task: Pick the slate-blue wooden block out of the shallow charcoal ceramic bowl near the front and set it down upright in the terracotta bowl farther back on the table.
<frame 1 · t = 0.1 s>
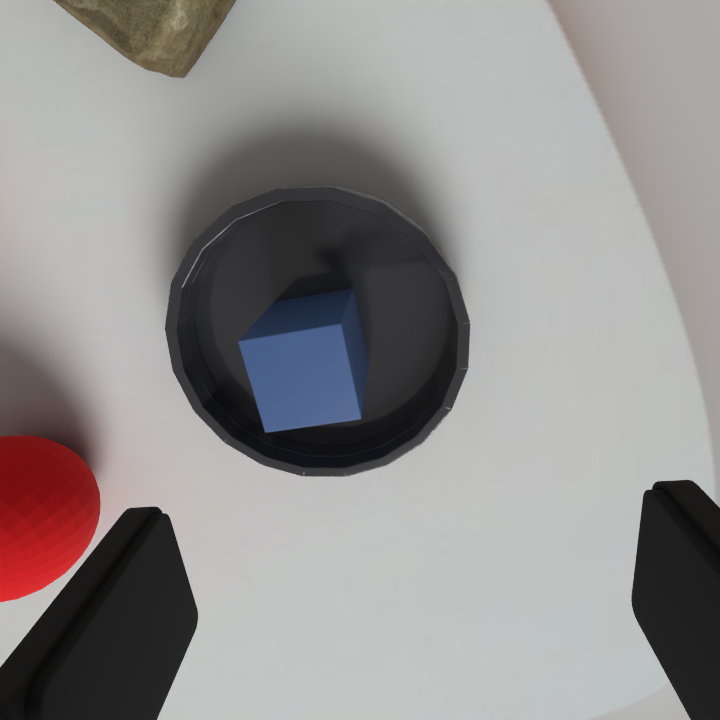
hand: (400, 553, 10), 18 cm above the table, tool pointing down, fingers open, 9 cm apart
ornament: (63, 468, 32), on the table
blue block: (322, 333, 27), point 1 cm above the table, touching charcoal bowl
charcoal bowl: (323, 330, 27), on the table
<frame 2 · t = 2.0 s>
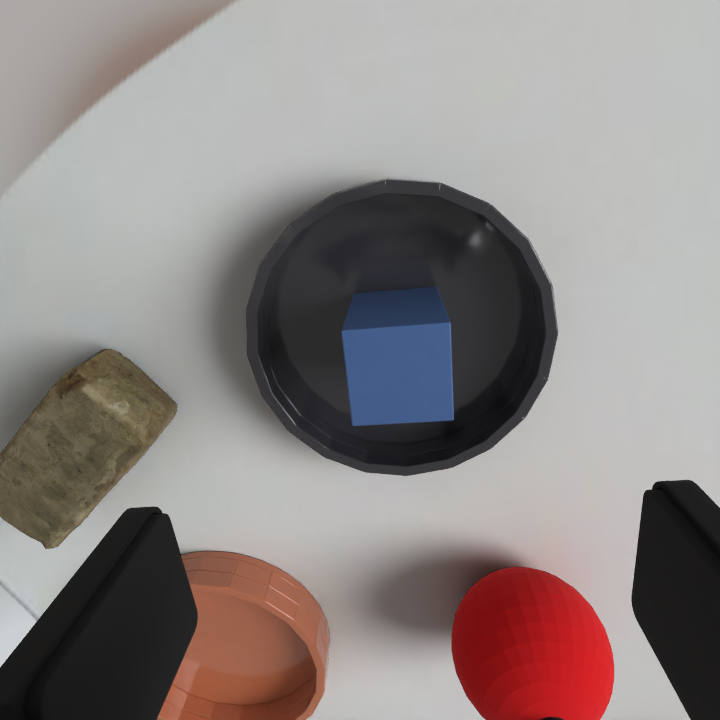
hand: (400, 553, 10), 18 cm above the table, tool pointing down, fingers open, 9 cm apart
stone block: (105, 427, 31), on the table
ornament: (510, 586, 33), on the table
blue block: (397, 329, 26), point 1 cm above the table, touching charcoal bowl
terracotta bowl: (228, 631, 36), on the table
charcoal bowl: (397, 326, 27), on the table
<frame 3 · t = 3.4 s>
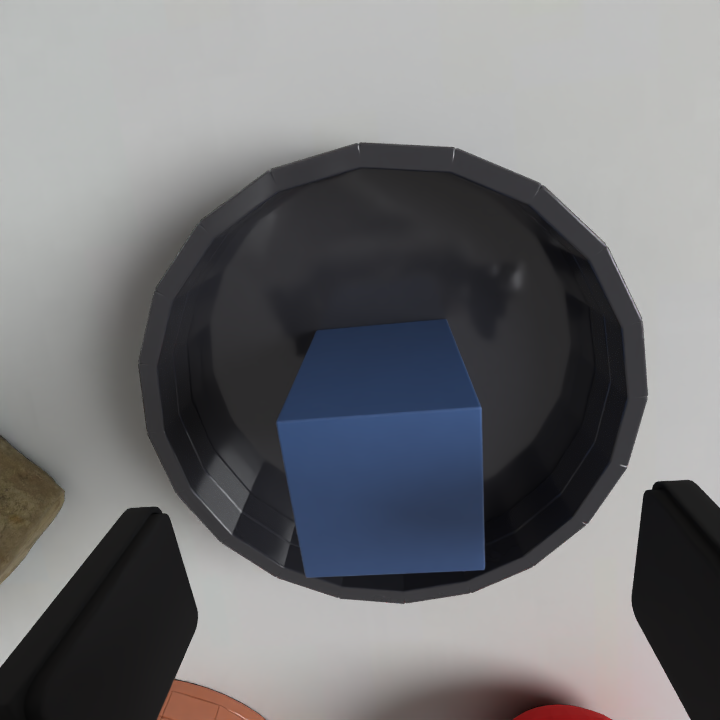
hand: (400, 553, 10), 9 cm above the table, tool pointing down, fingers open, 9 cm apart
ornament: (548, 718, 24), on the table
blue block: (386, 383, 17), point 1 cm above the table, touching charcoal bowl
charcoal bowl: (386, 377, 18), on the table
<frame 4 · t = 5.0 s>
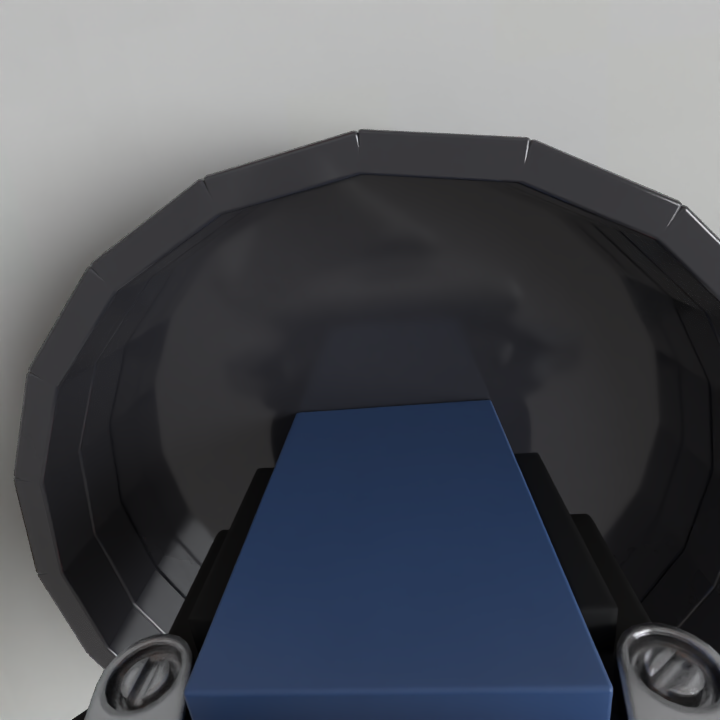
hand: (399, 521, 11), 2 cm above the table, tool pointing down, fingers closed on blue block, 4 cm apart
blue block: (399, 487, 12), point 1 cm above the table, touching charcoal bowl, gripper
charcoal bowl: (399, 472, 12), on the table
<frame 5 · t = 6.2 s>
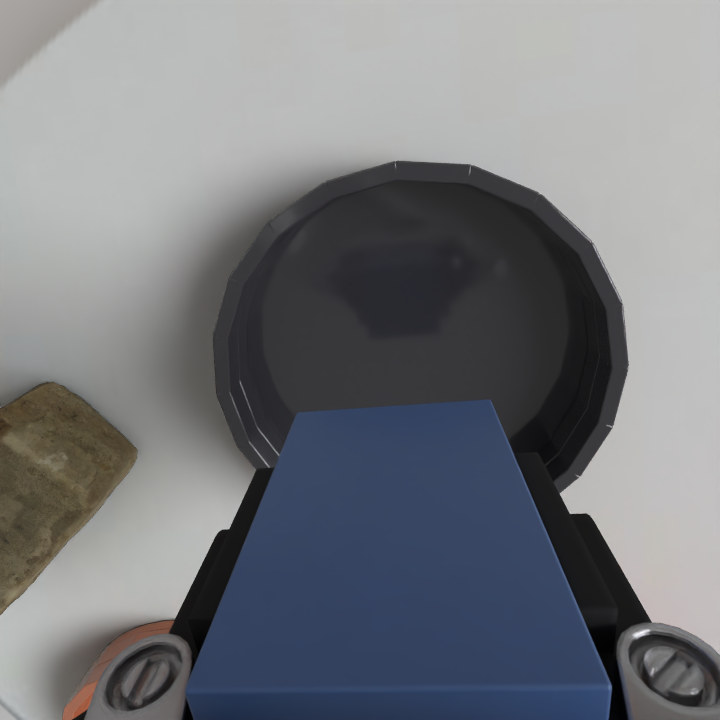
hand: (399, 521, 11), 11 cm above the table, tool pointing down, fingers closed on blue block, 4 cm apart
stone block: (53, 474, 25), on the table
blue block: (399, 486, 12), point 10 cm above the table, touching gripper
terracotta bowl: (209, 710, 30), on the table
charcoal bowl: (411, 354, 21), on the table
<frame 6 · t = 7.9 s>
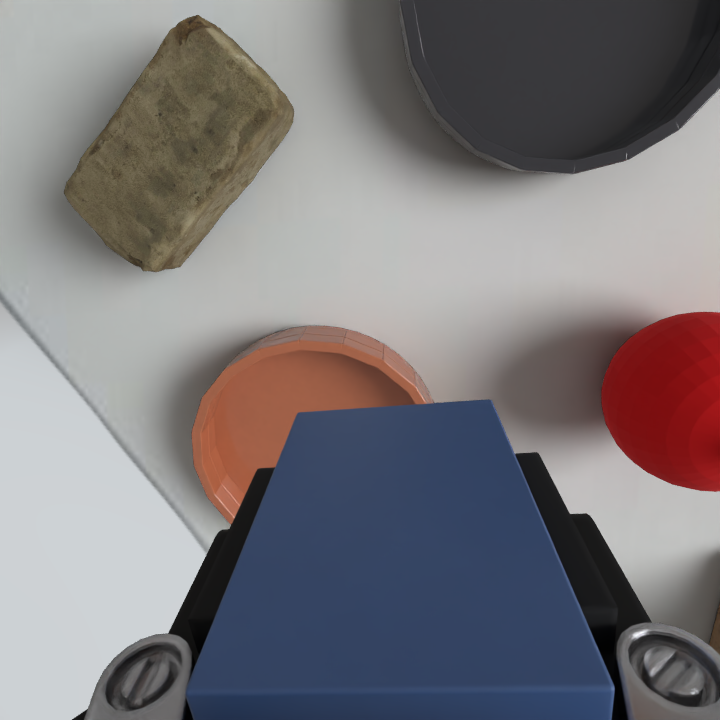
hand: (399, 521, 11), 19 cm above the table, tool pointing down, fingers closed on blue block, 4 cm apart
stone block: (202, 159, 27), on the table
ornament: (653, 366, 29), on the table
blue block: (400, 486, 12), point 18 cm above the table, touching gripper
terracotta bowl: (322, 435, 32), on the table
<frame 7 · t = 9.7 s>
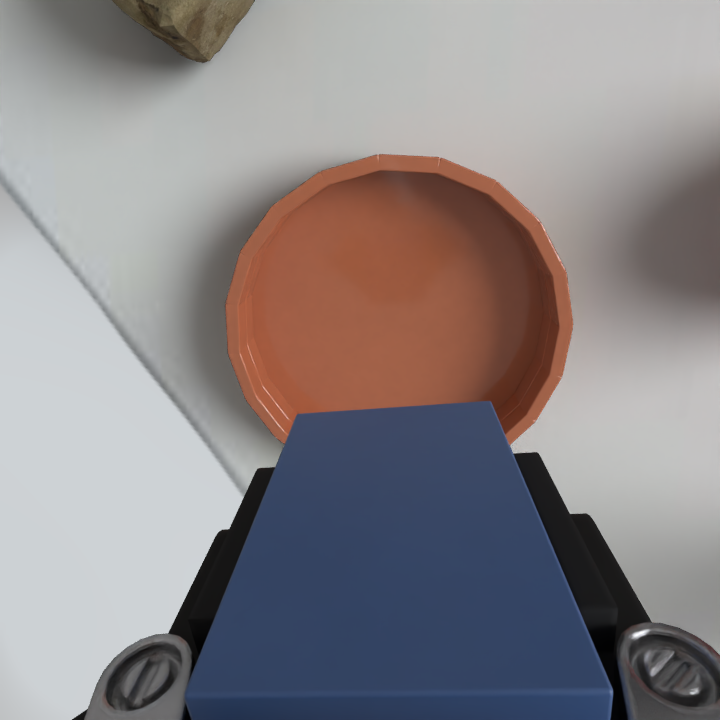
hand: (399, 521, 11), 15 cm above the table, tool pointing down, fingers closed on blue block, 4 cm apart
blue block: (399, 488, 12), point 14 cm above the table, touching gripper
terracotta bowl: (394, 321, 24), on the table
when the fingers open (2 cm above the table, at t = 13.0 s): blue block stays where it is, resting on terracotta bowl.
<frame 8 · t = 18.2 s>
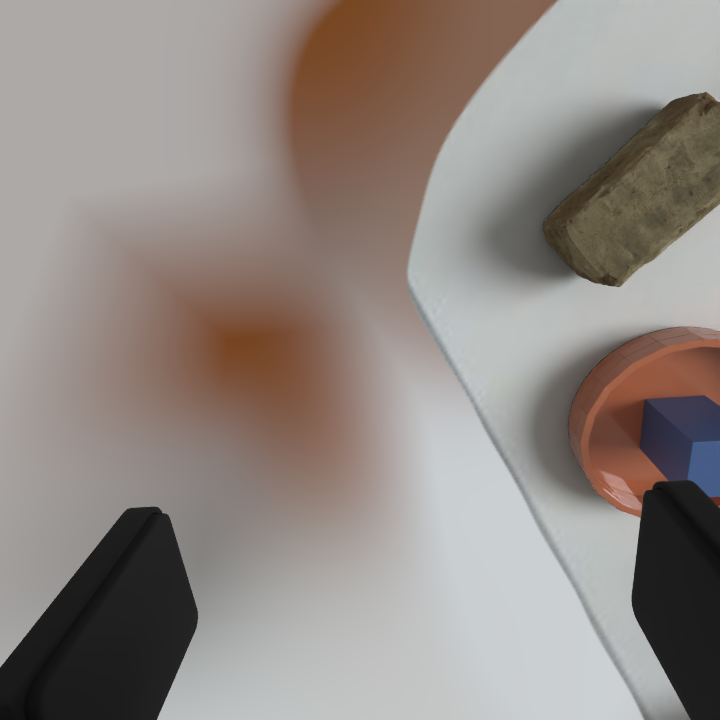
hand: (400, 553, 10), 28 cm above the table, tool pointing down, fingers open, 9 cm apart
stone block: (623, 194, 33), on the table
blue block: (671, 422, 38), point 1 cm above the table, touching terracotta bowl
terracotta bowl: (667, 418, 39), on the table
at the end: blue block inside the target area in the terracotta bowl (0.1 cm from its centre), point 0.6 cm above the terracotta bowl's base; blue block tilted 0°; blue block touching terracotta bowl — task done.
